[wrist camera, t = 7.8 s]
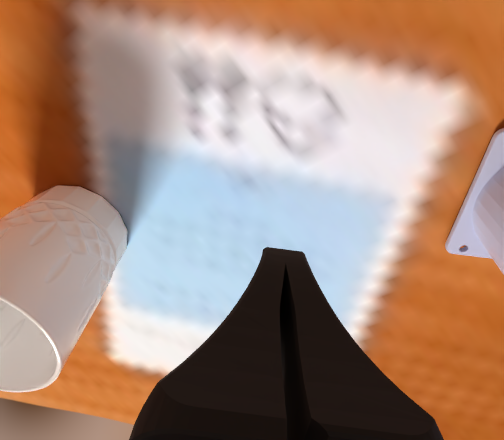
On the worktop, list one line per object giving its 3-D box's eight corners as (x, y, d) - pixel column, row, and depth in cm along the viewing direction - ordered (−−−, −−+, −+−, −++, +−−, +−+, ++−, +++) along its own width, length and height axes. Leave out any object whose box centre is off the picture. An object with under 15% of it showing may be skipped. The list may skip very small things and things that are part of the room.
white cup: (75, 281, 29) (-16, 403, 21) (1, 199, 26) (-144, 305, 17) (158, 252, 27) (93, 377, 18) (89, 157, 23) (-30, 257, 15)
